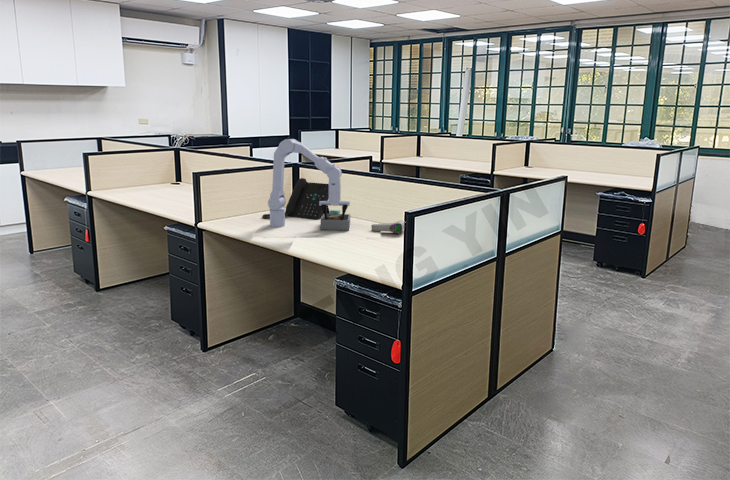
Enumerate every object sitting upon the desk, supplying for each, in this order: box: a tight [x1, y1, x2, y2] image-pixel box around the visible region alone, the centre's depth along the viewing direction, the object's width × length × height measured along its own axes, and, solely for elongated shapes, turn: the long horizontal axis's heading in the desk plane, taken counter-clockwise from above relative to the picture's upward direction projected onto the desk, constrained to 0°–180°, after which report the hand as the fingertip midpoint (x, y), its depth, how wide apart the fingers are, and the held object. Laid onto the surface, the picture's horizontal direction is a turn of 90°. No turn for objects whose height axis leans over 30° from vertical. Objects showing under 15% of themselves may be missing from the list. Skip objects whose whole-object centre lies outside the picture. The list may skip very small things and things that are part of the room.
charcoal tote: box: [320, 213, 351, 232], centre depth 269 cm, size 18×14×5 cm
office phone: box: [261, 177, 330, 221], centre depth 295 cm, size 29×28×20 cm
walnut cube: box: [327, 215, 342, 220], centre depth 265 cm, size 5×5×5 cm
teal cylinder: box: [329, 209, 341, 216], centre depth 272 cm, size 5×5×7 cm
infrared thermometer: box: [371, 220, 405, 234], centre depth 264 cm, size 5×12×15 cm
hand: (334, 220), depth 265 cm, fingers closed on walnut cube, 7 cm apart
